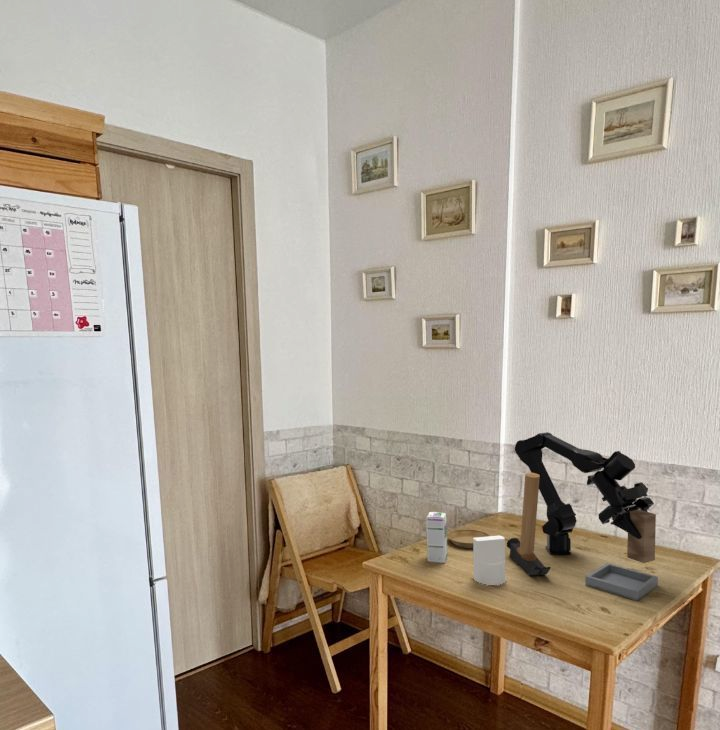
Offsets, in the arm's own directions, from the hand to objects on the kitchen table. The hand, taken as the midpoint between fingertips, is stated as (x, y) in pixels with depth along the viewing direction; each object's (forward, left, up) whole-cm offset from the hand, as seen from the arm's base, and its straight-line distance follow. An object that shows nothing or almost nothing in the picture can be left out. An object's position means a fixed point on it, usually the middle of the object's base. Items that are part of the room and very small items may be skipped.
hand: (646, 536), depth 152 cm
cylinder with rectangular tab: (-43, +2, -14) cm, 45 cm away
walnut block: (-1, +1, -7) cm, 7 cm away
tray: (-7, -1, -13) cm, 15 cm away
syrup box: (-57, +17, -14) cm, 61 cm away
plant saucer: (-45, +33, -14) cm, 58 cm away
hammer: (-30, +12, -14) cm, 35 cm away
